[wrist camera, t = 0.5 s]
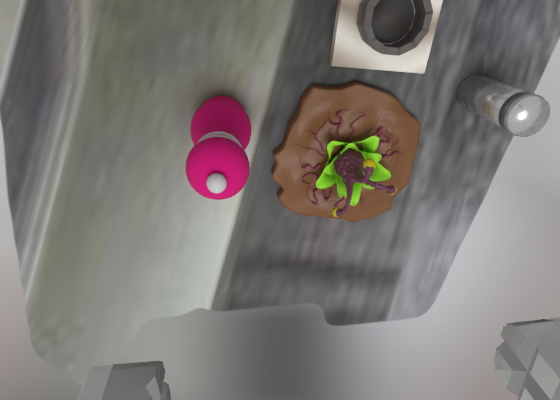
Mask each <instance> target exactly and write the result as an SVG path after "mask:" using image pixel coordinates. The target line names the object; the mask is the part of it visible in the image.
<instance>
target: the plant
mask: <svg viewBox="0 0 560 400" xmlns="http://www.w3.org/2000/svg"><path fill="white" fill-rule="evenodd" d="M419 135H420V122H419V121H418V120H416V119H415V118H414V117H413V116H411V115H410V114H409V113H408V112H407V111H406V110H405V109H404V107H403V105H402V104H401V103H400V101H399V100H398V99H396V98H395V97H393V96H392V95H391V94H389V93H388V92H386V91H384V90H382V89H379V88H375V87H372V86H369V85H366V84H363V83H360V82H356V81H352V82H349V83H346V84H343V85H340V86H321V85H316V84H310V85H309V87H308V88H307V90H306V91H305V92H304V93H303V94H302V96H301V98H300V101H299V104H298V107H297V110H296V112H295V114H294V115H293V116H292V118H291V119H290V121H289V123H288V126H287V130H286V133H285V136H284V139H283V142H282V143H281V144H280V145H279V146H278V147H277V148H276V149H275V150H273V156H274V158H275V164H274V165H273V167H272V177H273V179H274V180H275V181H276V182H277V183H278V184H279V185H280V186H281V188H280V189H279V191H278V193H277V194H278V199H279V201H280V202H281V203H282V204H283V205H284V206H285V207H286V208H287V209H288V210H290V211H292V212H293V213H296V214H301V215H311V216H322V217H328V218H336V219H346V220H348V221H350V222H357V221H359V220H365V219H370V218H373V217H375V216H377V215H379V214H381V213H383V212H386V211H389V210H390V209H391V204H392V200H393V198H394V197H395V195H396V194H397V193H398V192H399V191H400V190H401V189H403V188H404V187H405V186H407V184H408V182H409V180H410V176H411V170H412V166H413V162H414V158H415V154H416V150H417V146H418V142H419Z"/></svg>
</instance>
